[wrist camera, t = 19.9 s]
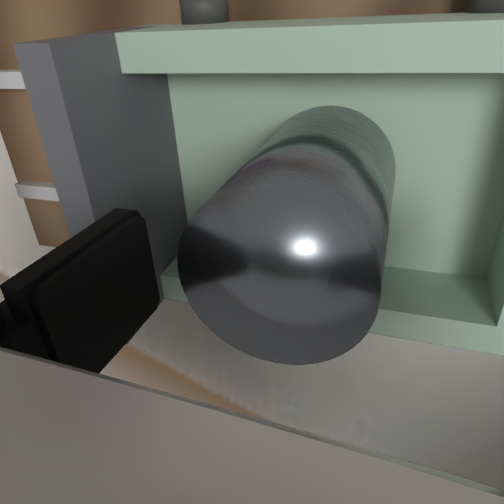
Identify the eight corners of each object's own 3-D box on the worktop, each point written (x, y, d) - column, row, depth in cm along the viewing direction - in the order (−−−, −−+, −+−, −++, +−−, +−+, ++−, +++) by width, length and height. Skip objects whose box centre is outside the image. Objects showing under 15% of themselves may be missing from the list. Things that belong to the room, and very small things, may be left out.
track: (665, -66, 13) (730, -80, 10) (535, 302, 20) (554, 351, 18) (-31, -12, 21) (-97, -12, 19) (49, 237, 29) (10, 263, 26)
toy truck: (598, -32, 13) (769, -50, 7) (498, 299, 19) (538, 454, 13) (153, -5, 18) (-1, 0, 11) (189, 258, 24) (105, 357, 17)
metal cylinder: (403, 107, 15) (393, 197, 8) (388, 235, 17) (370, 381, 11) (264, 104, 16) (163, 179, 10) (268, 223, 19) (189, 345, 12)
